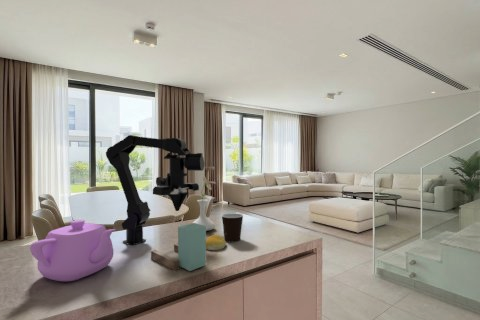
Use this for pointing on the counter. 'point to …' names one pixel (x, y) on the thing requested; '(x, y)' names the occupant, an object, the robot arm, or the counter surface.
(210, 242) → the bread roll
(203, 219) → the flower in vase
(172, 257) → the walnut chute
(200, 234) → the teal block
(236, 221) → the coffee mug
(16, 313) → the counter surface
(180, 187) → the robot arm
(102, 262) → the teapot
